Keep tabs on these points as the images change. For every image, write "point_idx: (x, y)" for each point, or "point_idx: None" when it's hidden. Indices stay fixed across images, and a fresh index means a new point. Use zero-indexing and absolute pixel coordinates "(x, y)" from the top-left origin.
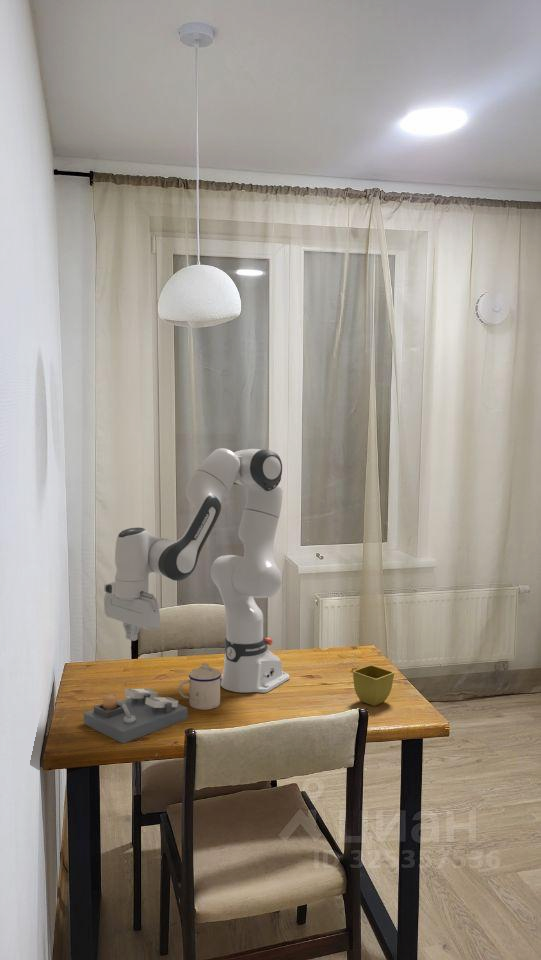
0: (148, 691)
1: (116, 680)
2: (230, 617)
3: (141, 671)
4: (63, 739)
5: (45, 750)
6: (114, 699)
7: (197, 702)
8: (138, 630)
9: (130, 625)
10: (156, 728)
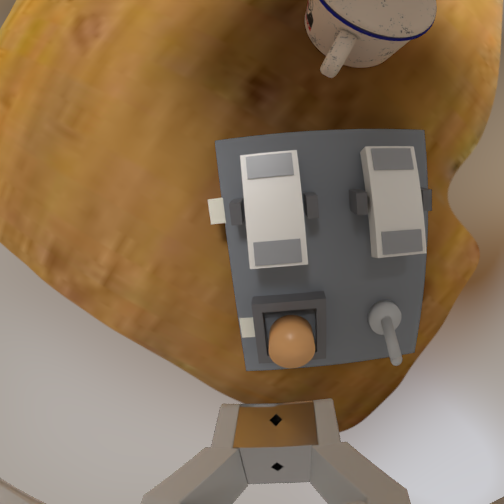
0: (283, 180)
1: (38, 145)
2: None
3: (30, 66)
4: None
5: None
6: (314, 345)
7: (380, 61)
8: (375, 475)
9: (187, 500)
10: None
